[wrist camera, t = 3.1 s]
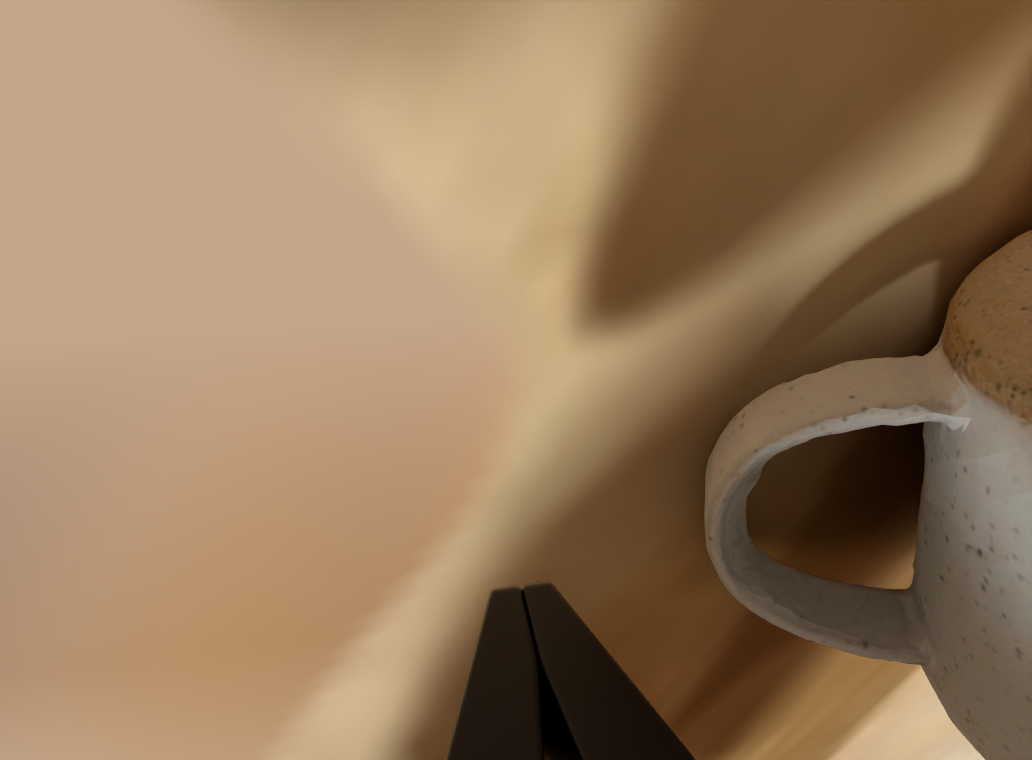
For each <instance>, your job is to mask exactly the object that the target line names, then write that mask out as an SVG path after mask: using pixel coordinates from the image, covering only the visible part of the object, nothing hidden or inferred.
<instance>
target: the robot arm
mask: <svg viewBox="0 0 1032 760" xmlns="http://www.w3.org/2000/svg"><path fill="white" fill-rule="evenodd" d="M446 760H696V759H695V758H694V757H693V756H692V755H691V753H690V752H689V751H688V750H687V748H686V747H685V746H684V745H683V743H682V742H681V741H680V740H679V739H678V737H677V736H676V735H675V734H674V732H673V731H672V730H671V729H670V728H669V726H668V725H667V724H666V723H665V721H664V720H663V719H662V718H661V716H660V715H659V714H658V713H657V712H656V710H655V709H654V708H653V707H652V705H651V704H650V703H649V702H648V700H647V699H646V698H645V697H644V696H643V694H642V693H641V692H640V691H639V689H638V688H637V687H636V686H635V685H634V683H633V682H632V681H631V680H630V678H629V677H628V676H627V675H626V673H625V672H624V671H623V670H622V669H621V667H620V666H619V665H618V664H617V662H616V661H615V660H614V659H613V657H612V656H611V655H610V654H609V653H608V651H607V650H606V649H605V648H604V646H603V645H602V644H601V643H600V642H599V640H598V639H597V638H596V637H595V635H594V634H593V633H592V632H591V630H590V629H589V628H588V627H587V626H586V624H585V623H584V622H583V621H582V619H581V618H580V617H579V616H578V615H577V613H576V612H575V611H574V610H573V608H572V607H571V606H570V605H569V603H568V602H567V601H566V600H565V599H564V597H563V596H562V595H561V594H560V592H559V591H558V590H557V589H556V587H555V586H554V585H553V584H552V583H550V582H548V581H543V582H536V583H529V584H525V585H523V586H522V588H521V589H520V587H518V586H508V587H500V588H495V589H493V590H492V591H491V592H490V595H489V598H488V602H487V606H486V610H485V613H484V617H483V621H482V625H481V628H480V632H479V636H478V640H477V643H476V647H475V651H474V655H473V659H472V662H471V666H470V670H469V674H468V677H467V681H466V685H465V689H464V692H463V696H462V700H461V704H460V708H459V711H458V715H457V719H456V723H455V726H454V730H453V734H452V738H451V741H450V745H449V749H448V753H447V757H446Z"/></svg>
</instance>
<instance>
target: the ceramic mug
mask: <svg viewBox="0 0 1032 760" xmlns="http://www.w3.org/2000/svg"><path fill="white" fill-rule="evenodd" d="M919 422H924V426H923V439H924V447H925V471H924V480H923V485H922V490H921V501H920V508H919V514H918V525H917V532H916V552H915V559H914V562H913V568H914V576H913V582H912V584H911V586H910V587H909V588H907V589H884V588H874V587H867V586H863V585H856V584H846V583H843V582H838V581H832V580H829V579H825V578H822V577H818V576H814V575H811V574H808V573H805V572H802V571H799V570H796V569H794V568H792V567H790V566H788V565H785V564H783V563H780V562H778V561H777V560H775V559H773V558H772V557H770V556H769V555H768V554H766V553H764V552H762V551H760V550H759V549H758V548H757V547H756V546H755V545H754V544H753V542H752V539H751V537H750V536H749V535H748V533H747V519H746V497H747V496H748V494H749V493H750V492H751V490H752V489H753V487H754V486H755V484H756V483H757V481H758V480H759V478H760V477H761V473H760V471H762V469H763V467H764V465H765V464H766V462H767V461H769V460H770V459H771V458H772V457H773V456H775V455H776V454H778V453H780V452H782V451H785V450H787V449H789V448H791V447H794V446H796V445H799V444H802V443H804V442H807V441H809V440H810V439H812V438H815V437H820V436H825V435H832V434H839V433H845V432H848V431H852V430H857V429H862V428H867V427H872V426H877V425H894V426H899V425H906V424H913V423H919ZM705 533H706V542H707V551H708V554H709V556H710V559H711V561H712V563H713V565H714V567H715V569H716V572H717V574H718V576H719V579H720V581H721V582H722V583H723V585H724V586H725V587H726V589H727V590H728V591H729V592H730V593H731V594H732V595H733V596H734V597H735V598H736V599H737V600H738V601H739V602H740V603H741V604H743V605H744V606H745V607H746V608H748V609H749V610H750V611H751V612H753V613H754V614H756V615H758V616H759V617H761V618H763V619H764V620H766V621H768V622H769V623H771V624H773V625H775V626H777V627H779V628H781V629H784V630H786V631H788V632H790V633H792V634H795V635H797V636H799V637H801V638H804V639H806V640H809V641H812V642H815V643H818V644H822V645H825V646H829V647H832V648H836V649H839V650H842V651H844V652H848V653H851V654H855V655H859V656H863V657H868V658H873V659H884V660H888V661H897V662H901V663H906V664H918V665H921V666H922V668H923V670H924V672H925V674H926V676H927V678H928V680H929V682H930V683H931V685H932V687H933V689H934V691H935V692H936V694H937V696H938V698H939V700H940V701H941V703H942V705H943V707H944V709H945V710H946V712H947V714H948V716H949V718H950V719H951V721H952V722H953V723H954V725H955V726H956V727H957V728H958V730H959V731H960V732H961V733H962V734H963V735H964V736H965V738H966V739H967V740H968V741H969V742H970V743H971V744H972V745H973V747H974V748H975V749H976V750H977V751H978V752H979V753H980V754H981V755H982V756H983V757H984V759H985V760H1032V230H1030V231H1028V232H1026V233H1023V234H1021V235H1019V236H1017V237H1016V238H1014V239H1013V240H1012V241H1010V242H1009V243H1007V244H1006V245H1005V246H1003V247H1002V248H1000V249H999V250H998V251H996V252H995V253H993V254H992V255H991V256H989V257H988V258H986V259H985V260H984V261H982V262H981V263H980V264H979V265H978V266H977V267H976V268H975V269H974V270H973V271H972V272H971V273H970V274H969V275H968V276H967V277H966V278H965V279H964V281H963V283H962V284H961V286H960V287H959V289H958V290H957V292H956V293H955V295H954V296H953V298H952V299H951V301H950V303H949V308H948V312H947V317H946V321H945V325H944V328H943V331H942V334H941V336H940V339H939V342H938V344H937V345H936V346H935V347H934V348H933V349H932V350H931V351H930V352H929V353H927V354H925V355H924V356H916V355H914V356H908V357H903V358H900V357H885V358H872V359H864V360H854V361H846V362H843V363H840V364H838V365H835V366H832V367H829V368H826V369H824V370H821V371H819V372H817V373H810V374H805V375H803V376H801V377H799V378H797V379H795V380H793V381H790V382H783V383H781V384H779V385H777V386H775V387H773V388H771V389H769V390H767V391H766V392H764V393H763V394H761V395H760V396H758V397H757V398H755V399H754V400H752V401H751V402H750V403H749V404H748V405H746V406H745V407H744V408H743V409H742V410H741V411H739V412H738V413H737V414H736V415H735V416H734V417H733V419H732V420H731V421H730V422H729V423H728V425H727V426H726V428H725V429H724V431H723V432H722V434H721V435H720V437H719V438H718V440H717V442H716V444H715V446H714V448H713V450H712V453H711V455H710V457H709V459H708V463H707V468H706V474H705Z"/></svg>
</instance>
